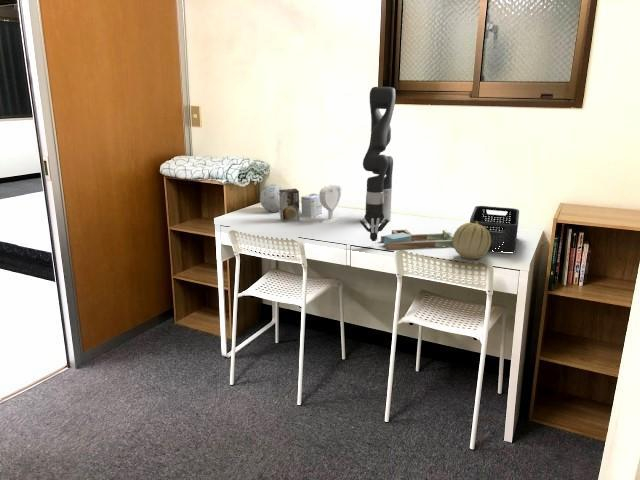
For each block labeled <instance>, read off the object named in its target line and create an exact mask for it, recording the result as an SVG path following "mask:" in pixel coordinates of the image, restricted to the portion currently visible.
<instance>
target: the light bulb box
mask: <svg viewBox="0 0 640 480" xmlns="http://www.w3.org/2000/svg"><path fill="white" fill-rule="evenodd" d="M319 195H320V193H310V194H305V195H303V196H301V197H300V199H301V200H300V201H301V216H302V217H307V218H313V217H317V216H319V215H322V214H323V206H322V205H321V202H320V197H319Z"/></svg>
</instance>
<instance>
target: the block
mask: <svg viewBox="0 0 640 480" xmlns="http://www.w3.org/2000/svg"><path fill="white" fill-rule="evenodd" d="M384 236H385V240H384V242H383V245H384V246H386V247H387V243H400V242H412V241H411V235H408V234H406V233H397V234H392V233H391V234H387V235H384Z"/></svg>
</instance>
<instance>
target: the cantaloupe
mask: <svg viewBox="0 0 640 480" xmlns="http://www.w3.org/2000/svg"><path fill="white" fill-rule="evenodd" d="M453 235H454V236H453V246H452V247H453V248H454V250H455V252H456V253H457V254H458V255H459V256H461V257H463V258H465V259H468V260H469V259H471V260H477V259H479V258H481V257H483V256H485V255H486V254H487V253H489V252H488V250H489V248H490V245H491V236H490V233H489V231H488V230H487V229H486V228H485V227H483V226H482V225H479V224H478V222H477V221H476V223H470V222H466V223H463V224H461V225H459V227H458V228H457V229H456V231H455V232H454V234H453Z"/></svg>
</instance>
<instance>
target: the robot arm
mask: <svg viewBox="0 0 640 480" xmlns="http://www.w3.org/2000/svg"><path fill="white" fill-rule="evenodd" d="M396 95H397V94H396V89H395V88H394V87H391V86H373V87H371V88H370V91H369V107H370V108H369V109H370V110H369V111H370V120H371V121H370V123H371V124H370V138H369V139H370V140H369V145H368V148H367V151H366V153H365V156H364V158H363V160H362V167H363V169H364V170H365V171H366V172H371V173H372V174H373V175H375V176H370V177H368V178H367V180H366V194H365V214H364V217H363V218H362V219H359V223H360V224H361V225H362V226H363V228H364V230H366V231H367V233H369V238H370V240H371V242H376V241H377V240H378V234H379V232H382V231H383V230H384V228H385V227H386V226H387V225H388V224H389V222H391V220H392V219H391V213H392V192H393V191H392V189H393V188H392V187H393V182H392V181H393V170H394V159H393V156H392V155H391V156H390V155H386V154H381V153H383V152H385V151H386V148H387V146H388V145H389V144H390V142H391V139H392V127H391V123H392V122H391V121H392V117H393V113H394V108H395V105H396ZM380 110H385V112H384V113H383V115H382V113H381V111H380ZM366 223H367V224H369V225H368V226H369V227H368V226H367V224H366Z"/></svg>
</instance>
